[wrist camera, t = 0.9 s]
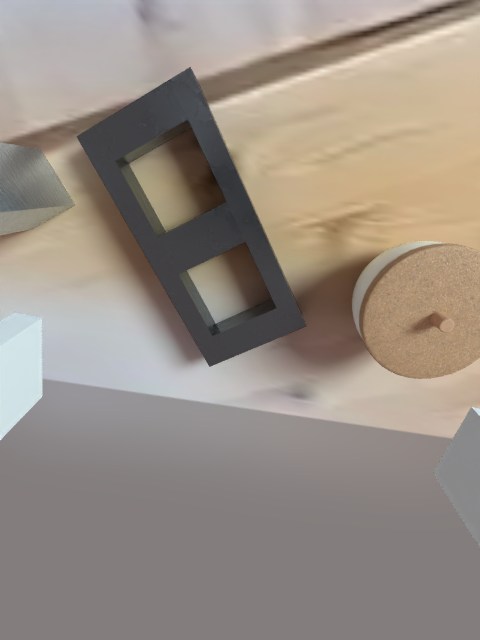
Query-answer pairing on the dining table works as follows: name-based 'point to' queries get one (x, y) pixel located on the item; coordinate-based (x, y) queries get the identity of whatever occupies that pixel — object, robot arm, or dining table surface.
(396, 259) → the lidded jar
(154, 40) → the dining table surface
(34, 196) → the solid steel block
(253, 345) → the dark grey flat frame
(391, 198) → the dining table surface
